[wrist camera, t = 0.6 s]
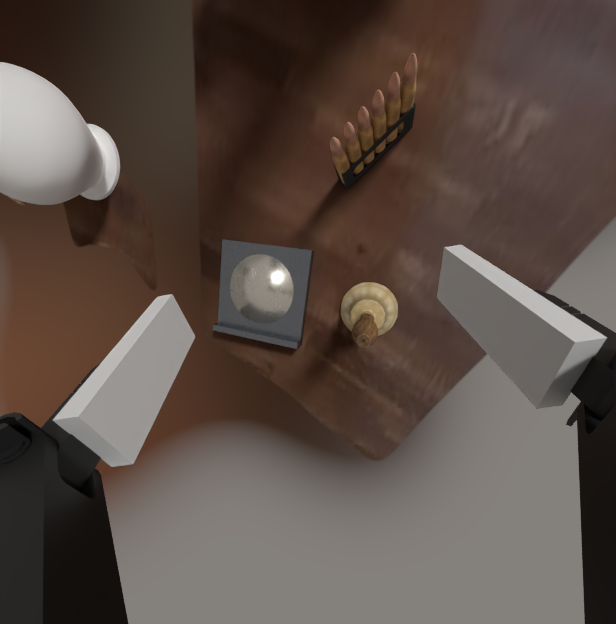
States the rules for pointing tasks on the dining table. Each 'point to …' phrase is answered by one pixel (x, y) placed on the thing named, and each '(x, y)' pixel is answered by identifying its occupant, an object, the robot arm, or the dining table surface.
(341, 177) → the ammunition clip
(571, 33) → the dining table surface
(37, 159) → the decorative vase
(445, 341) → the dining table surface
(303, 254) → the plate
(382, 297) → the hand bell
